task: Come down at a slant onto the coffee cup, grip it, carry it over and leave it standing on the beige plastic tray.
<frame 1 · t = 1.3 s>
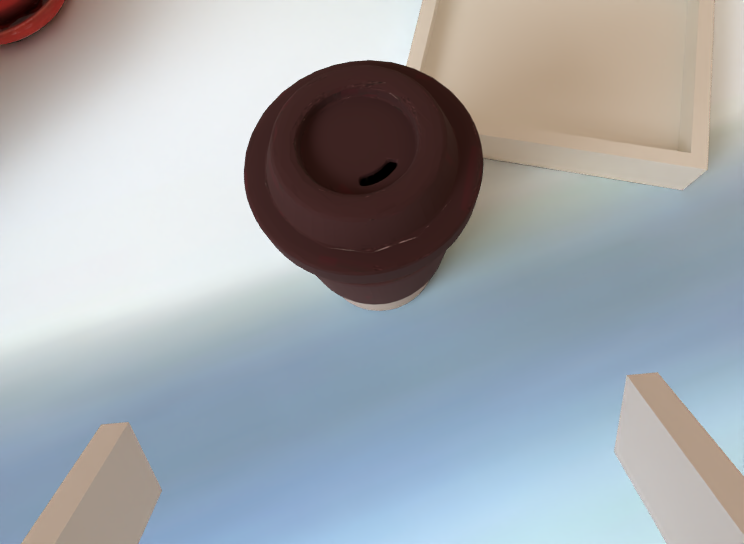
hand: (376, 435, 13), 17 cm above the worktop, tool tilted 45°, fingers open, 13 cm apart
plant pot: (18, 1, 42), on the worktop
tray: (546, 72, 35), on the worktop
coffee cup: (380, 261, 32), on the worktop
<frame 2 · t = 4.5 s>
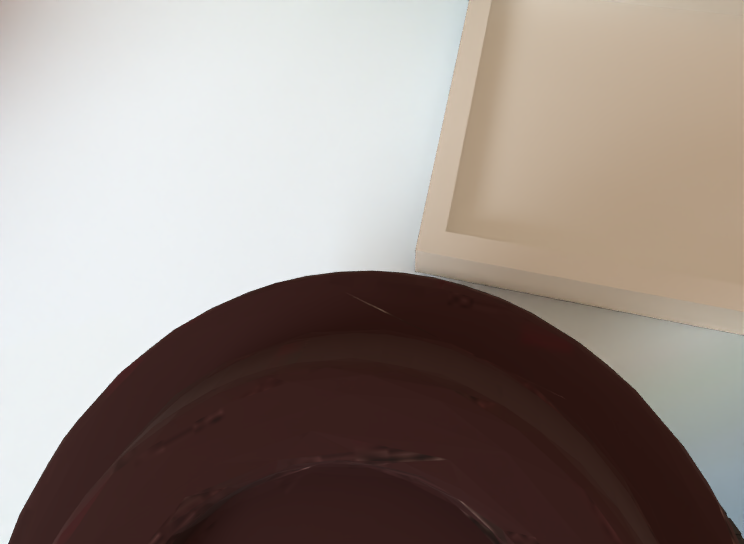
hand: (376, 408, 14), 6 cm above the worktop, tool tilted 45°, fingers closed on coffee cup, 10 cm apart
tray: (663, 150, 22), on the worktop
coffee cup: (394, 491, 19), on the worktop, touching gripper
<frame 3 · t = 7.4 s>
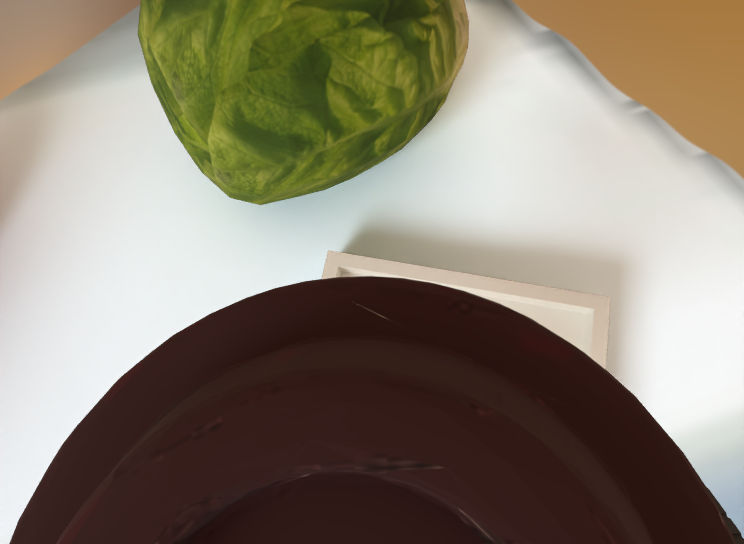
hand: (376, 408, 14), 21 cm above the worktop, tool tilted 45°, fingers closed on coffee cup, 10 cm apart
lettuce: (333, 118, 41), on the worktop
tray: (443, 388, 34), on the worktop
coffee cup: (394, 493, 19), point 15 cm above the worktop, touching gripper
when the fingers open (9 cm above the worktop, at t = 10.6 s): coffee cup drops 1 cm, resting on tray.
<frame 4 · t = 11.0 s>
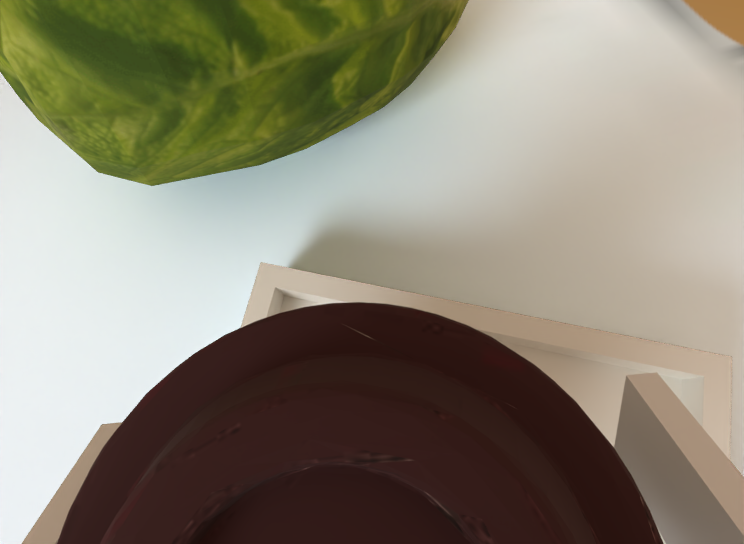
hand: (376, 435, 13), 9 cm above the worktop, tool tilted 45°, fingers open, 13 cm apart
lettuce: (291, 68, 28), on the worktop
tray: (441, 494, 21), on the worktop
coffee cup: (388, 489, 20), point 1 cm above the worktop, touching tray
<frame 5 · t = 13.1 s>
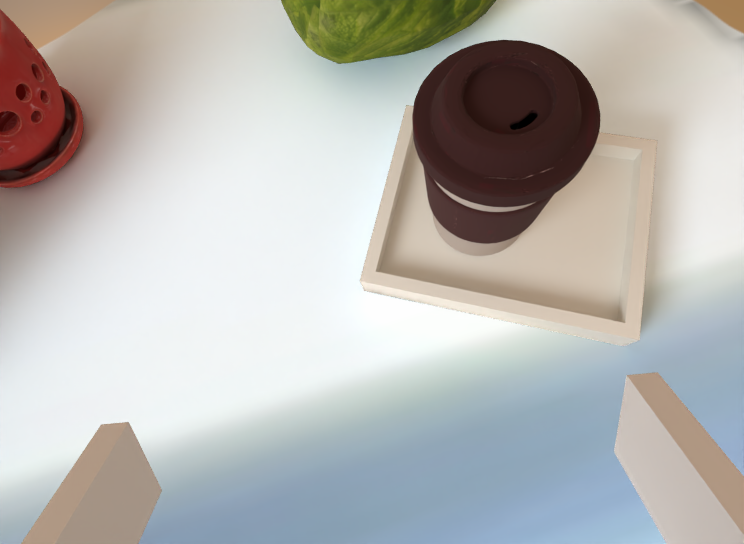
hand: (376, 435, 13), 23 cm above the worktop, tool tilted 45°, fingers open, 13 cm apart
plant pot: (39, 140, 47), on the worktop
lettuce: (406, 11, 47), on the worktop
tray: (504, 224, 39), on the worktop
coffee cup: (477, 216, 38), point 1 cm above the worktop, touching tray
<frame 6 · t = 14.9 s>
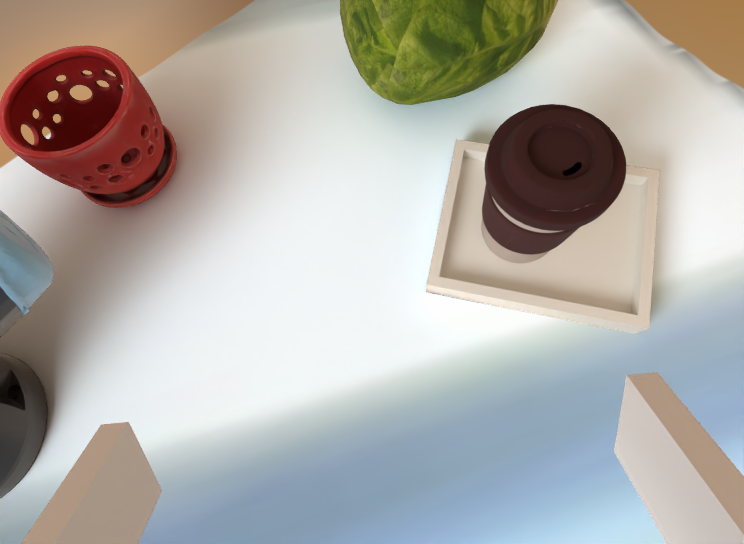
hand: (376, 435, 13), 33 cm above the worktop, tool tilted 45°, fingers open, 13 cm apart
plant pot: (135, 165, 55), on the worktop
lettuce: (448, 55, 56), on the worktop
tray: (537, 237, 48), on the worktop
coffee cup: (516, 231, 47), point 1 cm above the worktop, touching tray
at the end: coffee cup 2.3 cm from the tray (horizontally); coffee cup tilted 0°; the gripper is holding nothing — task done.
